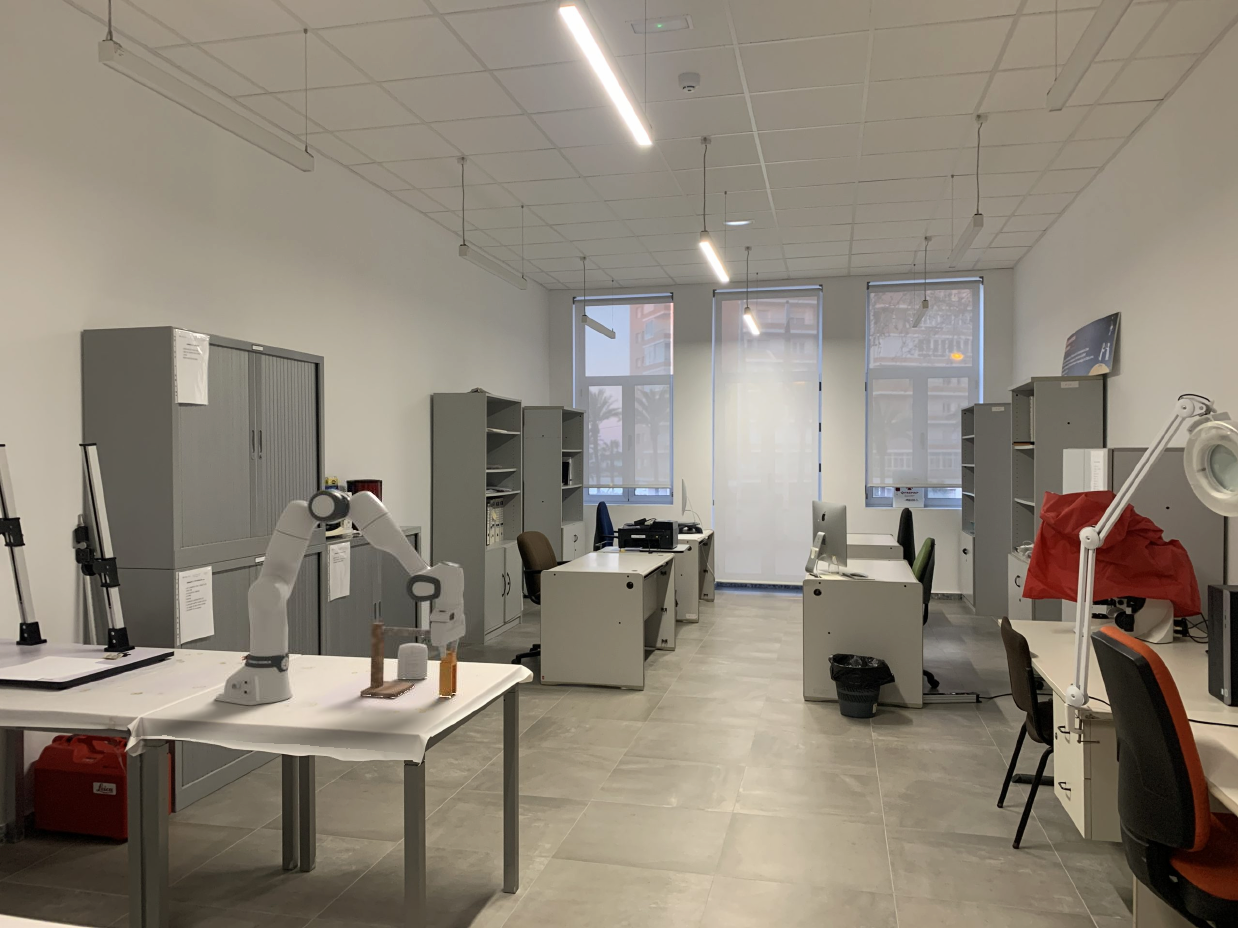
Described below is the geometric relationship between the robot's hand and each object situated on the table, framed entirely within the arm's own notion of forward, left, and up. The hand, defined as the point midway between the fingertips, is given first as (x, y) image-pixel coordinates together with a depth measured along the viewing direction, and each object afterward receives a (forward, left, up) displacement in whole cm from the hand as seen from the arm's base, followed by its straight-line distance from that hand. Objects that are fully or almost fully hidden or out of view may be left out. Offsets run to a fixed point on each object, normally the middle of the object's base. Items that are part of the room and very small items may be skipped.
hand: (448, 654), depth 259 cm
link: (0, 0, -13) cm, 13 cm away
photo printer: (-21, +18, -14) cm, 31 cm away
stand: (-16, 0, -13) cm, 21 cm away
